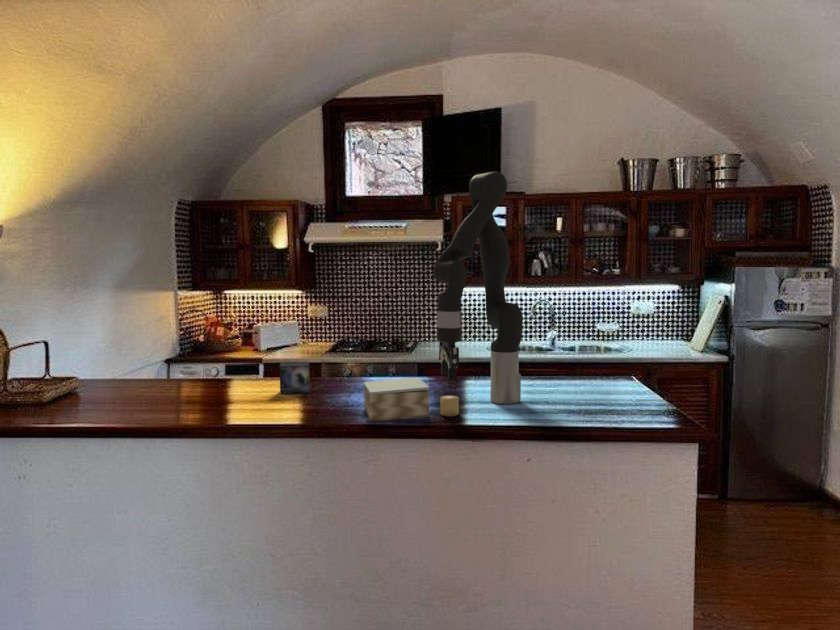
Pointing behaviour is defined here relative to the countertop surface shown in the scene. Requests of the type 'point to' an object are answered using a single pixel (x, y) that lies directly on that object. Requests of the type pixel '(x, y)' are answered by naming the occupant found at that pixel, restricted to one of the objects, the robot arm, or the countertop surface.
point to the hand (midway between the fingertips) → (448, 377)
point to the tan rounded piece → (449, 405)
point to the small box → (294, 378)
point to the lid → (395, 386)
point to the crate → (396, 405)
